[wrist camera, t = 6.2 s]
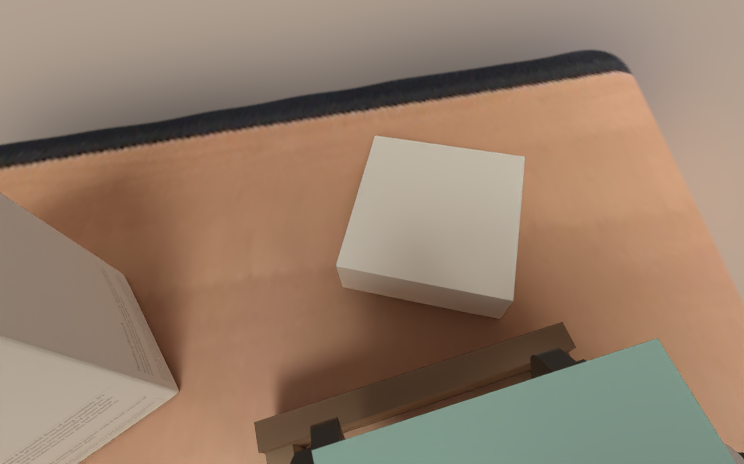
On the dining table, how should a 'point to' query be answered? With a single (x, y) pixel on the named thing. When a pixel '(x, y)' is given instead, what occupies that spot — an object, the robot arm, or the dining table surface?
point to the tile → (435, 226)
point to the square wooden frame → (406, 391)
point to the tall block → (557, 421)
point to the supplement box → (68, 347)
